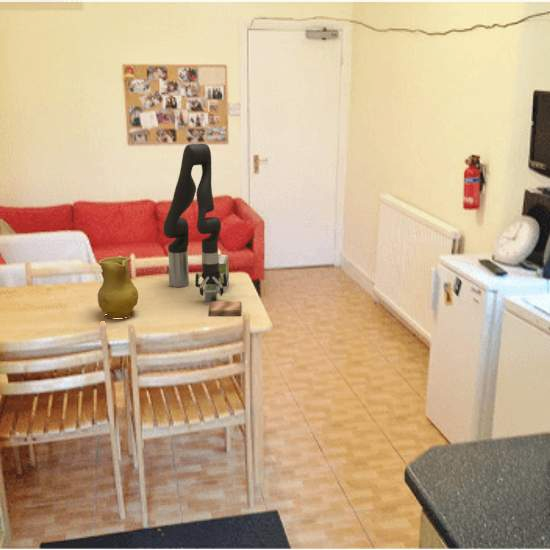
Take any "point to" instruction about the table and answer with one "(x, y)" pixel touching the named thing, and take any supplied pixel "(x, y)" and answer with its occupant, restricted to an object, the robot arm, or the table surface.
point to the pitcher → (117, 288)
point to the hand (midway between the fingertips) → (211, 295)
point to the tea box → (223, 268)
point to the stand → (225, 308)
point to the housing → (210, 293)
